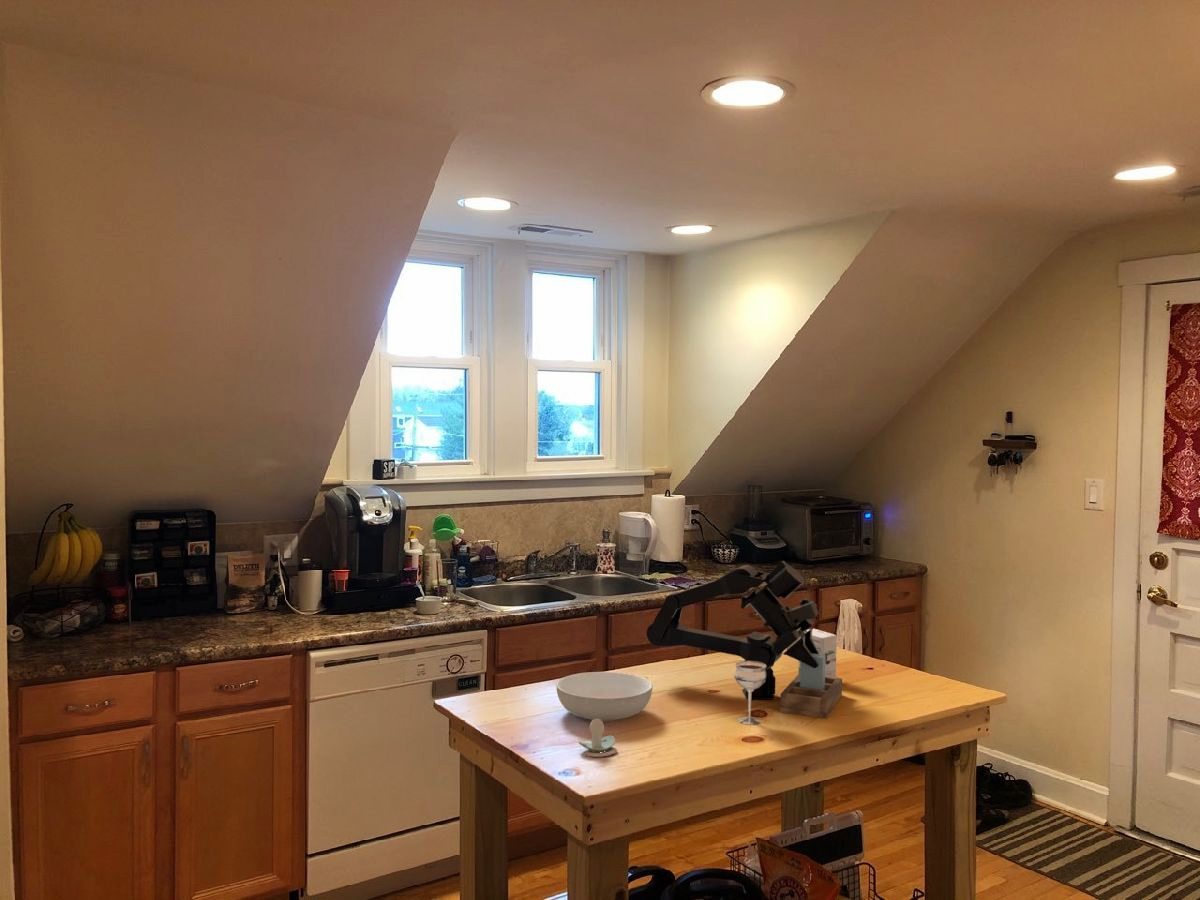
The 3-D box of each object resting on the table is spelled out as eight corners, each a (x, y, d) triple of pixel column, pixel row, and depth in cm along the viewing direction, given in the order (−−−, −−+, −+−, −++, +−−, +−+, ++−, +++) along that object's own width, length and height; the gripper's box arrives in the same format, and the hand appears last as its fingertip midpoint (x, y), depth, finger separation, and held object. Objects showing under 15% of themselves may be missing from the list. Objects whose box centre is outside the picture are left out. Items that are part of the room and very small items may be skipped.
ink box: (797, 676, 232) (798, 630, 232) (811, 674, 235) (812, 628, 234) (822, 685, 225) (823, 637, 224) (836, 682, 228) (837, 635, 227)
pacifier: (623, 755, 177) (607, 744, 182) (624, 723, 177) (608, 713, 182) (589, 762, 174) (574, 750, 179) (590, 729, 173) (575, 719, 178)
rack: (780, 711, 204) (780, 693, 204) (799, 689, 221) (799, 672, 221) (825, 718, 200) (826, 700, 200) (841, 695, 217) (842, 678, 217)
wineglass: (754, 728, 193) (755, 671, 193) (727, 721, 197) (728, 665, 197) (771, 720, 198) (772, 664, 198) (744, 713, 203) (745, 659, 202)
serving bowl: (661, 705, 208) (661, 674, 208) (639, 735, 188) (640, 702, 187) (572, 696, 213) (572, 667, 213) (542, 725, 193) (542, 692, 193)
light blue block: (799, 699, 210) (800, 655, 210) (802, 695, 213) (803, 652, 212) (822, 702, 208) (822, 658, 208) (824, 698, 211) (825, 655, 210)
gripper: (787, 595, 203) (837, 651, 199) (806, 582, 220) (852, 633, 215) (751, 627, 206) (799, 683, 202) (772, 612, 223) (817, 663, 219)
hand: (819, 664), depth 210 cm, fingers open, 4 cm apart
